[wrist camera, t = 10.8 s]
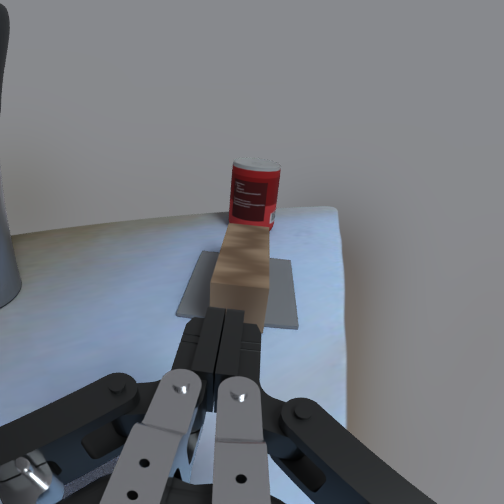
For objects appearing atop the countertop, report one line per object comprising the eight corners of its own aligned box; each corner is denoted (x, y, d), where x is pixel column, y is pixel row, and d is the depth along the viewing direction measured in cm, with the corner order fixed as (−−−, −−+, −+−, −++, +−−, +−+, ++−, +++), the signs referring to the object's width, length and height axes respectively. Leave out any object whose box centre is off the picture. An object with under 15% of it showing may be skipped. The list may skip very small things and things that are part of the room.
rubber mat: (297, 329, 30) (298, 326, 30) (176, 316, 30) (176, 312, 30) (290, 262, 43) (290, 260, 43) (202, 253, 43) (202, 250, 43)
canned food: (262, 216, 58) (268, 158, 53) (281, 233, 52) (290, 168, 47) (222, 218, 56) (226, 157, 51) (236, 236, 49) (242, 166, 44)
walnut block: (210, 282, 27) (228, 222, 39) (209, 327, 29) (226, 258, 41) (269, 288, 26) (269, 227, 39) (262, 333, 29) (264, 262, 41)
